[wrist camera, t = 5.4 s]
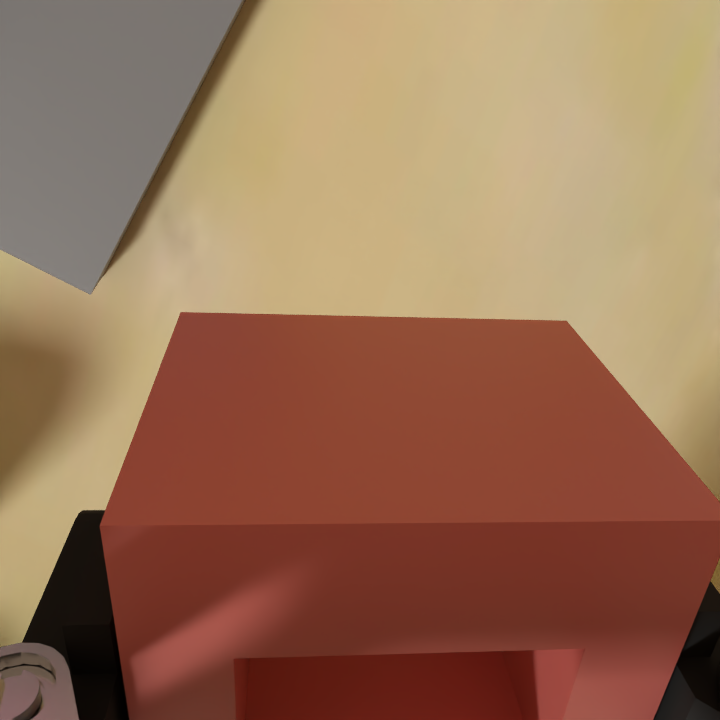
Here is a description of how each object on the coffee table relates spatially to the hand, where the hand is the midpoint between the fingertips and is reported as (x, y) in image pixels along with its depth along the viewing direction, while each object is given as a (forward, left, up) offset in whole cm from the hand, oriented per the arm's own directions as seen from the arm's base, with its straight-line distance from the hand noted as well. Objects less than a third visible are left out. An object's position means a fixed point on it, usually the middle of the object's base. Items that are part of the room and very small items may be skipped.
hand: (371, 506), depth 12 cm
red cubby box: (0, 0, -1) cm, 1 cm away
